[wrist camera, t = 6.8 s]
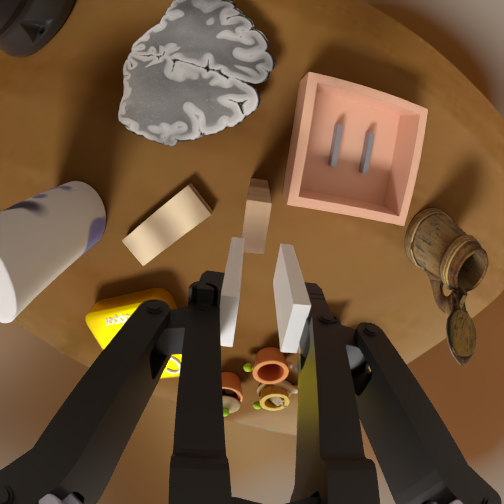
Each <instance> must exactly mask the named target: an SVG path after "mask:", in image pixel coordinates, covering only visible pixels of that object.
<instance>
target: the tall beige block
mask: <svg viewBox="0 0 504 504" xmlns="http://www.w3.org/2000/svg"><path fill="white" fill-rule="evenodd" d="M271 205H272V202H271V196H270V190H269V184H268V180H264V179H257V178H251V181H250V186H249V192H248V197H247V203H246V211H245V218H244V225H243V233H242V238H244V239H245V240H244V251H243V252H249V253H256V254H264V248H265V242H266V236H267V230H268V224H269V217H270V211H271Z"/></svg>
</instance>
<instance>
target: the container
mask: <svg viewBox="0 0 504 504" xmlns="http://www.w3.org/2000/svg"><path fill="white" fill-rule="evenodd" d="M105 226H106V213H105V208H104V205H103V202H102V200H101V198H100V196H99V195H98V193H97V192H96V191H95V190H94V189H93V188H92V187H91V186H89V185H88V184H86V183H84V182H81V181H71V182H68V183H65V184H63V185H60V186H58V187H55V188H53V189H50V190H48V191H45V192H43V193H40V194H38V195H36V196H33V197H31V198H29V199H26V200H24V201H22V202H20V203H17V204H15V205H13V206H11V207H9V208H7V209H5V210H3V211H1V212H0V322H2V323H9V322H11V321H13V319H14V318H15V317H16V316H17V315H18V314H19V313H20V312H21V311H22V310H23V309H24V308H25V307H26V306H27V305H28V304H29V303H30V302H31V301H32V300H33V299H34V298H35V297H36V296H37V295H38V294H39V293H40V292H41V291H42V290H43V289H44V288H46V287H47V286H48V285H49V284H50V283H51V282H52V281H53V280H54V279H55V278H56V277H57V276H58V275H60V274H61V273H62V272H63V271H64V270H65V269H66V268H67V267H68V266H70V265H71V264H72V263H73V262H74V261H75V260H76V259H78V258H79V257H80V256H81V255H82V254H83V253H85V252H86V251H87V250H88V249H89V248H91V247H92V246H93V245H94V244H95V243H97V242H98V241H99V240H100V238H101V237H102V235H103V233H104V230H105Z"/></svg>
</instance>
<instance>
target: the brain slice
mask: <svg viewBox="0 0 504 504" xmlns="http://www.w3.org/2000/svg"><path fill="white" fill-rule="evenodd" d="M268 47H269V42H268V40H267V39H266V37H265V36H264V34H263V33H262V32H260V31H259V30H256V29H255V28H254V24H253V22H252V20H250V19H249V18H248V17H247V16H245V15H244V13H243V12H242V11H240V10H239V9H238V8H236V5H235V4H234V3H233V2H231V1H228V0H175V1H173V2H172V5H171V6H170V7H169V8H168V9H167V11H166V14H165V15H164V16H163V18H162V19H161V20H160V22H159V23H158V24H156V25H155V26H153V27H152V28H151V29H149V30H148V31H147V32H146V33H145V34H144V35H143V36H142V37H140V38H139V39H138V40H137V41H136V42H135V43H134V44H133V46H132V48H131V50H132V53H129V55H128V58H127V59H126V61H125V64H124V66H123V75H124V76H123V85H124V94H123V97H122V100H121V102H120V107H119V112H118V119H119V121H120V123H121V124H122V125H124V126H125V127H126V128H127V129H128V130H130V131H131V132H133V133H134V134H137V135H139V136H144V137H145V138H147V139H150V140H152V141H155V142H158V143H160V144H165V145H168V146H174V145H176V144H177V142H178V141H189V140H197V139H199V138H201V137H203V135H213V134H216V133H218V132H221V131H223V130H224V129H226V128H227V127H233V126H236V125H237V124H239V123H241V122H242V121H243V120H244V119H245V118H246V116H247V115H250V114H252V113H253V112H254V111H255V110H256V109H257V108H258V106H259V103H260V96H259V93H258V91H257V90H256V88H255V87H253V86H252V85H250V84H248V83H251V84H257V83H261V82H264V81H266V80H267V78H269V75H270V72H271V71H272V70H273V69H274V67H275V60H274V57H273V55H272V54H271V53H270V52H269V51H267V49H268ZM245 82H248V83H245Z"/></svg>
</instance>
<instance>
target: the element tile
mask: <svg viewBox="0 0 504 504" xmlns="http://www.w3.org/2000/svg"><path fill="white" fill-rule="evenodd" d="M152 299H156V300H162V301H164V302H166V303H167V304H168V305H169V307H170V309H178V308H177V306H176V303H175V301H174V299H173V297H172V296H171V294H170V293H169V292H168V291H167V290H165V289H163V288H158V287H157V288H151V289H146V290H142V291H138V292H133V293H129V294H124V295H120V296H116V297H111V298H107V299H102V300H99V301H97V302H96V303H95V305H94V306H93V307H92V308H91V310H90V311H89V312H88V314H87V315H86V318H85V319H86V323H87V325H88V327H89V329H90V330H91V332H92V334H93V335H94V337H95V338H96V340H97V341H98V343H99V344H100V346H101V348H102V349H103V350H104V349H105V347H106V346H107V345H108V343H109V342H110V341H111V340H112V338H113V337H114V336H115V335H116V333H117V332H118V331H119V330H120V328H121V327H122V326H123V325H124V323H125V322H126V321H127V320H128V318H129V317H130V316H131V315H132V314H133V312H134V311H135V310H136V309H137V308H138V306H139V305H140V304H141V303H143V302H144V301H147V300H152ZM181 357H182V354H180V355H171V358H170V360H169V362H168V364H167V366H166V368H165V370H164V372H163V374H162V376H161V378H160V379H162V378H173V377H179V375H180V366H181Z"/></svg>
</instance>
